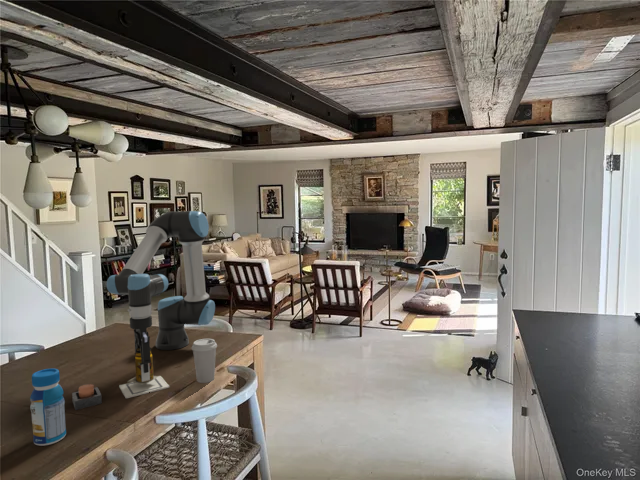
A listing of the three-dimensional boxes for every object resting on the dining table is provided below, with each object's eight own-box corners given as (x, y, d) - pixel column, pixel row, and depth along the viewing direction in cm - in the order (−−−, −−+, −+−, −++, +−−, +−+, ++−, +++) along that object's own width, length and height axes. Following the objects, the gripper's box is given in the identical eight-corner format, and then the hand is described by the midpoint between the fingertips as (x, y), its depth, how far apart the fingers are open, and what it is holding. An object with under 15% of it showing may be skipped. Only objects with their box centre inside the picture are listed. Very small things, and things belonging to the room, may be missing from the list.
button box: (98, 395, 155) (97, 387, 155) (101, 403, 148) (101, 394, 148) (72, 401, 150) (72, 392, 150) (75, 410, 144) (74, 401, 144)
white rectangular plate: (160, 377, 170) (160, 375, 170) (169, 387, 161) (169, 385, 160) (119, 387, 162) (119, 385, 162) (125, 398, 152) (125, 396, 152)
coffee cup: (208, 386, 161) (207, 346, 160) (187, 382, 165) (185, 344, 163) (223, 376, 170) (221, 339, 169) (202, 373, 174) (201, 336, 172)
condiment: (145, 384, 157) (144, 352, 156) (126, 381, 159) (125, 350, 158) (159, 376, 164) (157, 345, 163) (140, 374, 166) (139, 343, 165)
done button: (93, 391, 152) (92, 383, 152) (95, 395, 149) (94, 387, 148) (78, 394, 150) (77, 386, 150) (79, 399, 146) (79, 390, 146)
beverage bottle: (62, 444, 123) (57, 376, 122) (28, 449, 121) (23, 379, 119) (70, 429, 131) (66, 365, 130) (38, 433, 129) (33, 368, 127)
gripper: (124, 312, 164) (127, 372, 166) (135, 323, 149) (138, 388, 151) (145, 309, 169) (147, 367, 171) (158, 320, 153) (161, 383, 155)
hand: (143, 377), depth 161 cm, fingers closed on condiment, 6 cm apart
